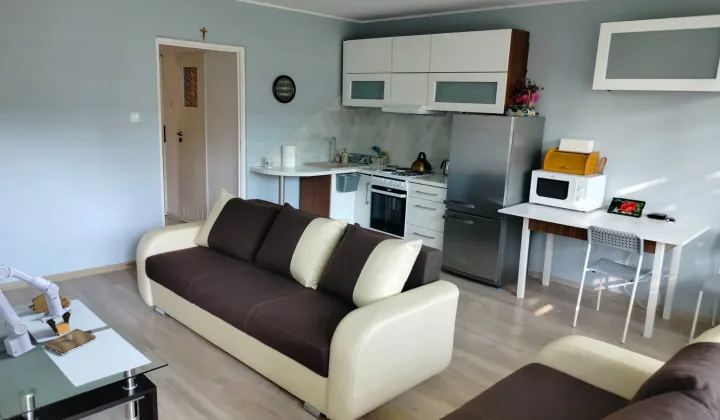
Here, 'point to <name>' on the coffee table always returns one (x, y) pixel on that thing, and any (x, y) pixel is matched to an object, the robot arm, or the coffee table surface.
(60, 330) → the tan rounded cube
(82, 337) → the walnut board
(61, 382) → the coffee table surface
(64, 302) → the lion figurine
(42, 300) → the wooden carving
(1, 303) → the robot arm
